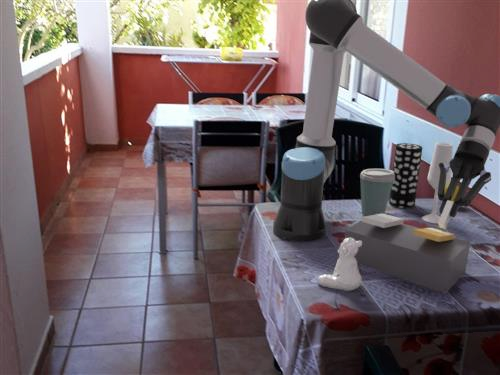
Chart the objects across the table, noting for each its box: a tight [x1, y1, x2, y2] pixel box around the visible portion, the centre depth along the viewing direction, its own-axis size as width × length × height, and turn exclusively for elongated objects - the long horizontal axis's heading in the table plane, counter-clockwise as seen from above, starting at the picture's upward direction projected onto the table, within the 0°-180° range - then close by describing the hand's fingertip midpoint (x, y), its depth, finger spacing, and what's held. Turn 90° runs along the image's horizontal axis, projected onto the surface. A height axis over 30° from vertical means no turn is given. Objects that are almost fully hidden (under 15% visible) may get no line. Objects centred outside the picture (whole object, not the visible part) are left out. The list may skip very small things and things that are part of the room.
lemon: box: [444, 183, 460, 202], centre depth 166 cm, size 6×6×8 cm
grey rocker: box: [360, 213, 405, 228], centre depth 124 cm, size 12×6×1 cm, turn 140°
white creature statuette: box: [317, 237, 363, 292], centre depth 112 cm, size 10×9×12 cm
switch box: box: [344, 220, 471, 295], centre depth 122 cm, size 14×26×8 cm, turn 50°
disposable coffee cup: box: [359, 168, 395, 217], centre depth 153 cm, size 11×11×15 cm
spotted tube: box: [388, 142, 423, 209], centre depth 164 cm, size 8×8×20 cm
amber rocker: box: [413, 227, 456, 242], centre depth 117 cm, size 12×6×1 cm, turn 140°
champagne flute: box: [421, 141, 454, 224], centre depth 150 cm, size 7×7×24 cm
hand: (441, 225), depth 120 cm, fingers closed
